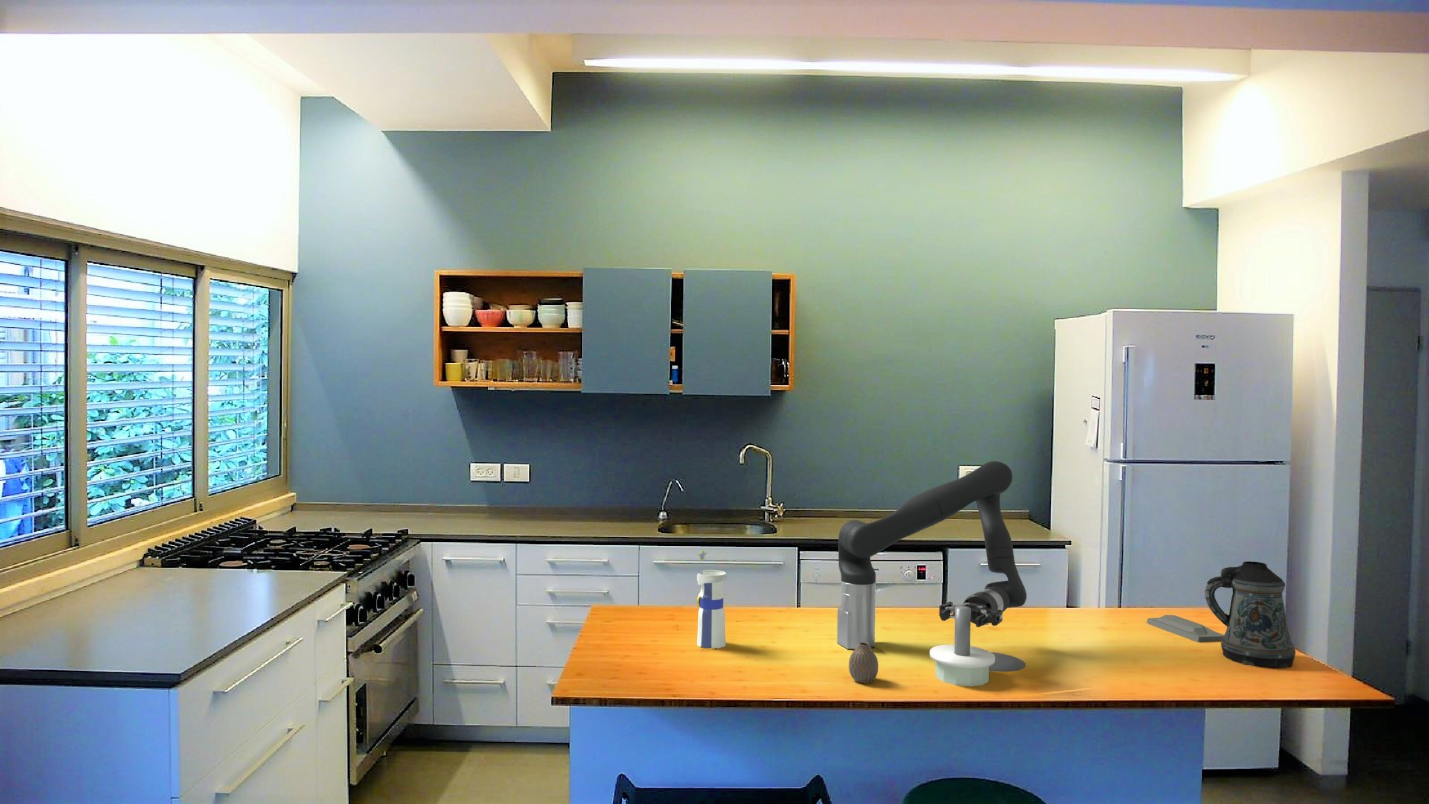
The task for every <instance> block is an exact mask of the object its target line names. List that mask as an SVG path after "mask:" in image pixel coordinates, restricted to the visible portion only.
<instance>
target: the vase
mask: <svg viewBox="0 0 1429 804" xmlns="http://www.w3.org/2000/svg"><path fill="white" fill-rule="evenodd" d="M848 670H849V674H850V677H851V678H852V679H853V680H854V681H855V682H856V683H859V684H871V683H872V682H873V681H874V680H875V679H876V678H877V676H878V673H879V661H878V657H877V655H876V654H875V652H874V651H873V649H872V648H870V645H869V644H868V643H865V642H861V643H859V644H858V646H857V648H856V649H853V651H852V653H851V654H850V657H849V659H848Z"/></svg>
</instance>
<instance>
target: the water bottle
mask: <svg viewBox="0 0 1429 804" xmlns="http://www.w3.org/2000/svg"><path fill="white" fill-rule="evenodd" d="M707 554H708V552H705V551H704V549H702V550H701V553H698V556H699V559H698V560H699V562H701V561H705V560H706V559H705V557H706V555H707ZM727 579H728V576H727V573H726V572H725V571H723V570H718V569H716V570H715V569H704V570H702V574H701V573H697V575H696V582H697V585H698V586H699V585H700V586H701V589H700V592H699V593H698V596H697V600H696V604H697V607H698V608H699V609H698V616H697V617H698V618H697V620H698V621H697V639H696V646H697V647H699V648H702V647H704V648H703V649H707V648H712V649H713V650H714V649H715V648H717V649H721V647H722V648H724V647H726V646H727V645H726V643H727V642H726V612H725V611H726V610H725V608H724V597H726V594H725V592H724V590H723V589H724V588H723V587H724V586H723V585H724V581H727ZM712 649H711V650H712ZM715 650H716V649H715Z"/></svg>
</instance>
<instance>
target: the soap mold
mask: <svg viewBox="0 0 1429 804" xmlns="http://www.w3.org/2000/svg"><path fill="white" fill-rule="evenodd" d="M1147 623H1148V624H1147ZM1146 624H1147V625H1150V626H1152V627H1155V628H1158V629H1161V630H1163V631H1166V632H1169V633H1172V634H1175V635H1176V636H1180V637H1183V638H1184V639H1185V638H1186V639H1188V640H1190V641H1193V642H1195V643H1196V642H1197V643H1209V642H1210V643H1211V642H1221V640H1222V639H1223V637H1224V635H1225V634H1223V633H1220V632H1217V631H1215V630H1213V629H1212V628H1209V627H1207V626H1205V625H1203V624H1201V623H1198V622H1195V621H1192V620H1190V619H1187V618H1183V617H1181V616H1179V615H1175V614H1164V615H1162V616H1160V617H1148V618H1147V619H1146Z"/></svg>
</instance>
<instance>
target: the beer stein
mask: <svg viewBox="0 0 1429 804" xmlns="http://www.w3.org/2000/svg"><path fill="white" fill-rule="evenodd" d="M1206 584H1207V585H1206V586H1205V590H1204V597H1205V601H1206V603H1207V606H1208V608H1209V609H1210V611H1211V612H1212V614H1214V616H1215V617H1216V618H1217V619H1218V620H1219V621H1220V622H1221V623H1222V624H1223V625H1225V627H1226V629H1225V631H1224V632H1225V633H1224V634H1223V635H1224V637H1223V639H1222V640H1221V641H1220V646H1221V650H1222V655H1223V657H1225V659H1228V660H1230V661H1232V662H1236V663H1238V664H1241V665H1243V666H1249V667H1255V668H1262V669H1272V670H1274V669H1277V670H1279V669H1284V670H1285V669H1288V668H1292V666H1293V664H1294V661H1295V657H1296V653H1297V652H1296V649H1295V647H1294V646H1295V645H1294V644H1293V642H1292V639H1291V635H1290V630H1289V628H1288V623H1287V616H1286V610H1285V602H1284V599H1283V598H1284V597H1283V592H1284V591H1285V587H1286V583H1285V582H1284V580H1283V579H1282V577H1279V576H1278V575H1277V574H1276V573H1275V572H1273V571H1272V570H1271V569H1270V568H1268V566H1267V563H1265V562H1259V561H1243V562H1242V564H1241V565H1238V566H1229V567H1224V568H1222V569H1221V570H1220V576H1214V577H1211V578H1210V579H1209V580H1208V581H1207V582H1206ZM1220 588H1224V589H1225V588H1226V589H1231V588H1232V595H1231V600H1230V606H1229V614H1227V613H1225V612H1224V609H1222V608H1221V607H1220V605H1219V603H1218V601H1217V600H1216V596H1215V593H1216V591H1217V589H1220Z"/></svg>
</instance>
